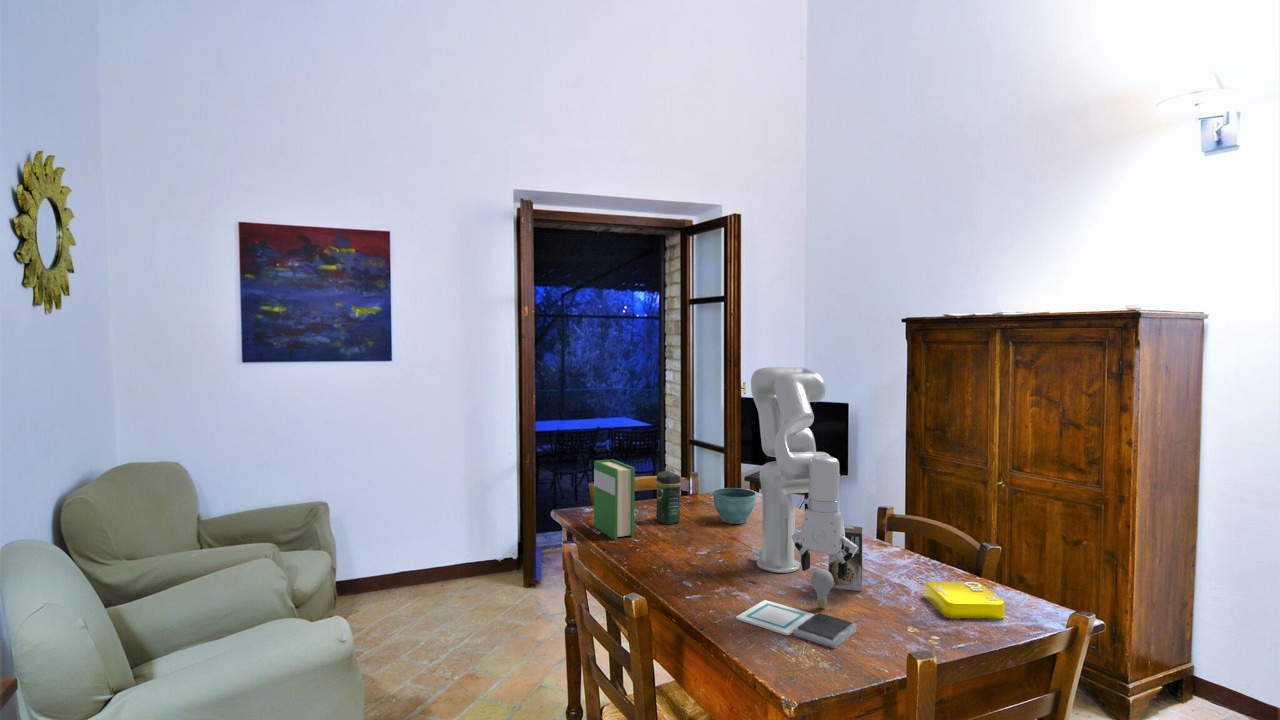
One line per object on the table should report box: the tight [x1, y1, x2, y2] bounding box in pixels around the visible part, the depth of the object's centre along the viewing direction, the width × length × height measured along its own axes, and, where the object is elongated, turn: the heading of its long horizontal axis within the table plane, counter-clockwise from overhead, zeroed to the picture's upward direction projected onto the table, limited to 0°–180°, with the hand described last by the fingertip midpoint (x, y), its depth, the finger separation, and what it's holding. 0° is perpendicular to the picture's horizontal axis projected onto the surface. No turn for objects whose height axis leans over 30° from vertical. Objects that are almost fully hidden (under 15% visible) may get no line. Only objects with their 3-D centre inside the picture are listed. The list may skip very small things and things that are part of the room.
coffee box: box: [828, 525, 864, 592], centre depth 187 cm, size 9×6×16 cm
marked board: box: [735, 599, 816, 636], centre depth 165 cm, size 14×14×1 cm
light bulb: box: [811, 568, 833, 610], centre depth 171 cm, size 6×5×10 cm
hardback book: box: [593, 459, 636, 541], centre depth 238 cm, size 18×7×24 cm, turn 28°
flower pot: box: [712, 487, 757, 525], centre depth 253 cm, size 16×16×11 cm
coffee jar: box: [655, 470, 682, 525], centre depth 251 cm, size 10×8×19 cm
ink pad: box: [793, 612, 858, 649], centre depth 157 cm, size 10×12×2 cm
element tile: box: [924, 580, 1006, 620], centre depth 173 cm, size 15×15×5 cm
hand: (823, 573), depth 170 cm, fingers open, 9 cm apart
